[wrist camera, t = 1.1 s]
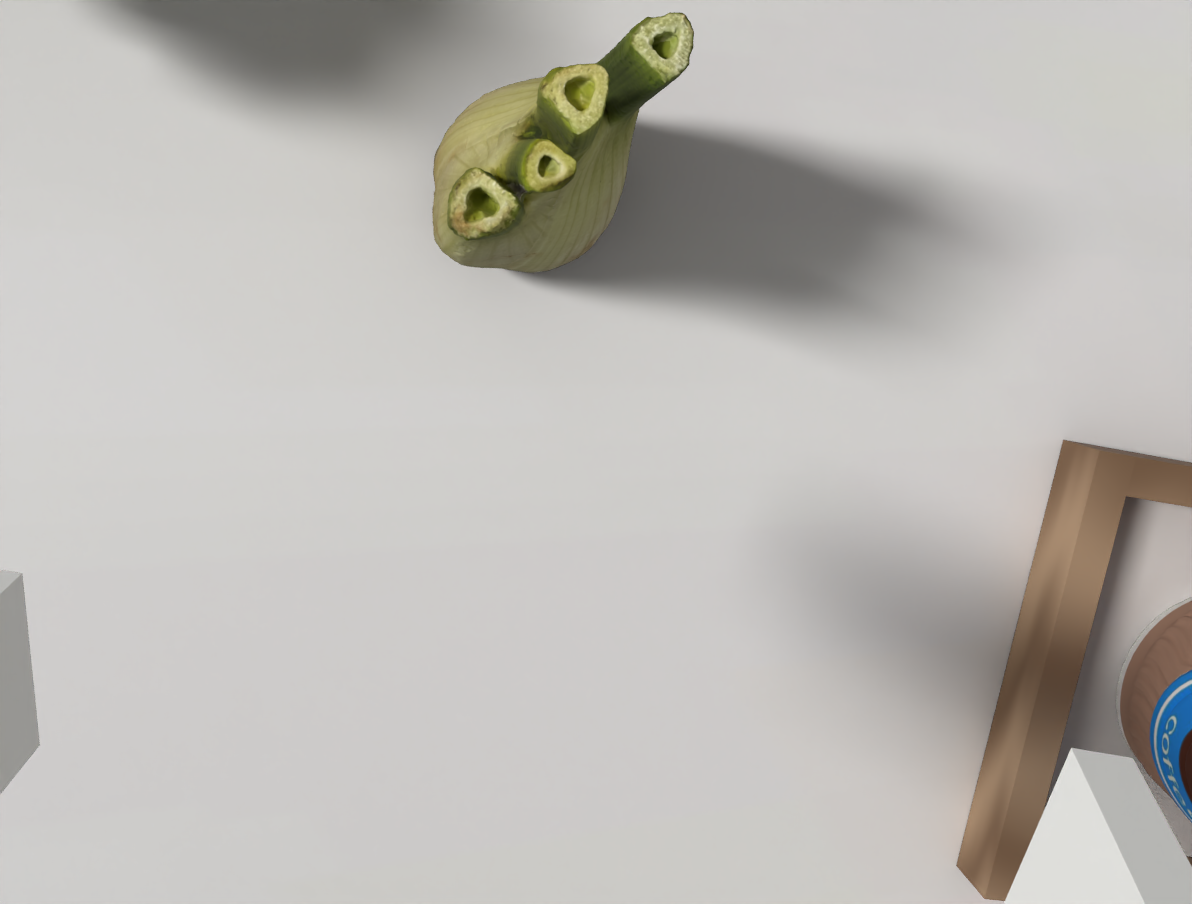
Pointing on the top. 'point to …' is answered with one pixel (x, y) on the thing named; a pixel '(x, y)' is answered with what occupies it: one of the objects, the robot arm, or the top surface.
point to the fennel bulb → (550, 154)
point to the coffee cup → (1161, 702)
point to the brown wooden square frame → (1053, 648)
